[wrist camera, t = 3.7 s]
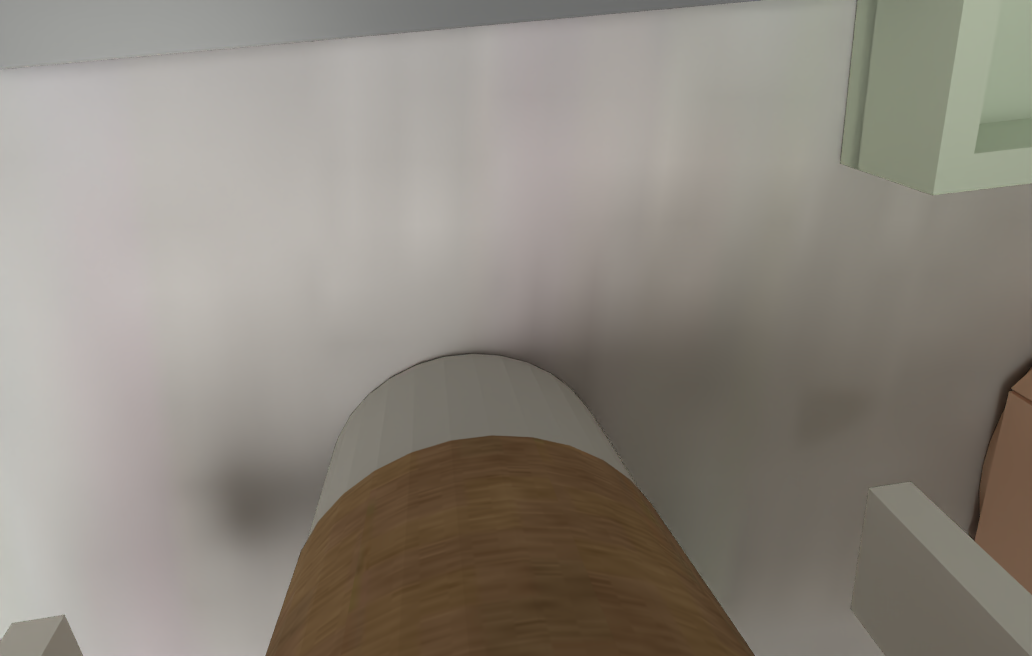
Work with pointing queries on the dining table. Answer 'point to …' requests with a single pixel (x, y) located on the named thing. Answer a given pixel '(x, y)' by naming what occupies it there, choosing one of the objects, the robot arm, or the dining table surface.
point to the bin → (1009, 487)
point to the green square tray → (941, 94)
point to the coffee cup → (489, 532)
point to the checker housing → (254, 23)
